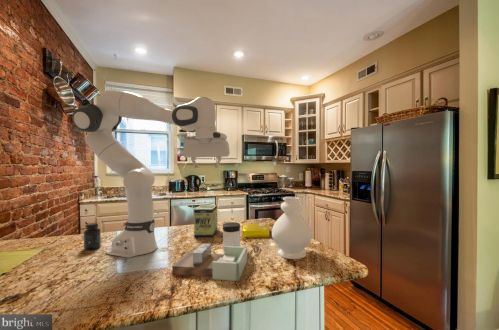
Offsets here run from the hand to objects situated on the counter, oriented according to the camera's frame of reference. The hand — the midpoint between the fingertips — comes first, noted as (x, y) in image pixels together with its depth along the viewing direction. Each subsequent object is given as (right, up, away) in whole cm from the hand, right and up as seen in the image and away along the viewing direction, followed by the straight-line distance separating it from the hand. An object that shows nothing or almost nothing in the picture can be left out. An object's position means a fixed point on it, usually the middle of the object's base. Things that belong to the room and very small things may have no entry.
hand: (206, 167), depth 98 cm
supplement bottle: (-59, -40, +14) cm, 73 cm away
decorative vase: (+38, -39, +4) cm, 54 cm away
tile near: (+8, -37, -14) cm, 40 cm away
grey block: (0, -36, -8) cm, 37 cm away
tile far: (+10, -38, -7) cm, 40 cm away
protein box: (-7, -39, +36) cm, 54 cm away
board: (-1, -39, -9) cm, 40 cm away
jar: (+10, -39, +10) cm, 42 cm away
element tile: (+22, -39, +34) cm, 57 cm away
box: (+12, -39, -11) cm, 42 cm away
